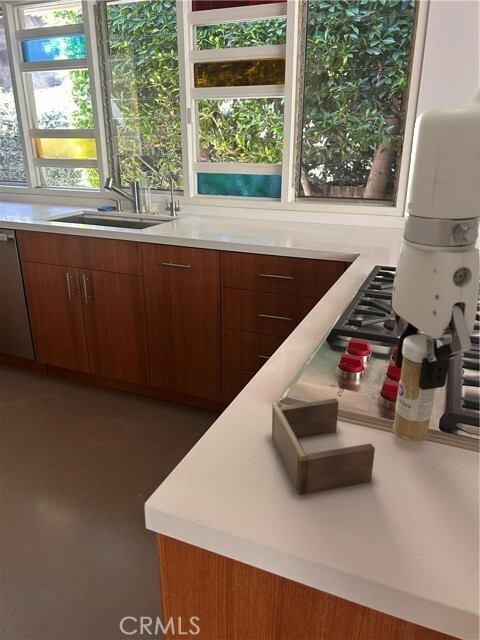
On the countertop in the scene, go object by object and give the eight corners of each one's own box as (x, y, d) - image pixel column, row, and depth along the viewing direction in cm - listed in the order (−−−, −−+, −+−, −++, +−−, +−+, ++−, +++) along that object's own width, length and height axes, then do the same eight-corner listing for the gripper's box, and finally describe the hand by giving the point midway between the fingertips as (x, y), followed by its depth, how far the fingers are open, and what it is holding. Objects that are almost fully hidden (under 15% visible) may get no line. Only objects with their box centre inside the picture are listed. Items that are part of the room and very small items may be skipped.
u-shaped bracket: (333, 428, 65) (336, 394, 63) (371, 482, 55) (375, 444, 53) (271, 438, 63) (272, 403, 61) (299, 496, 53) (300, 456, 51)
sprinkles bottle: (385, 427, 62) (395, 336, 57) (413, 420, 64) (426, 330, 58) (407, 447, 58) (420, 352, 53) (436, 439, 60) (452, 345, 54)
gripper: (529, 245, 44) (493, 409, 51) (424, 215, 59) (408, 344, 66) (459, 251, 42) (432, 419, 49) (370, 219, 57) (359, 350, 64)
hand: (418, 375), depth 57 cm, fingers closed on sprinkles bottle, 4 cm apart
